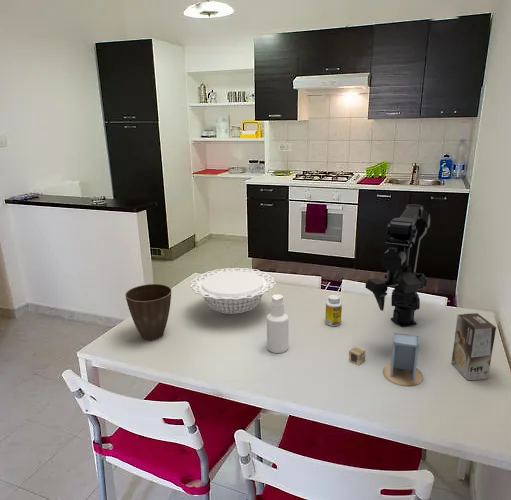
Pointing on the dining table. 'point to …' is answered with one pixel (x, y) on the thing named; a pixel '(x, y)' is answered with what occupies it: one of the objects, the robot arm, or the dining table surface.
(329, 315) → the supplement bottle
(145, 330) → the plant pot
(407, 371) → the coaster
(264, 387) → the dining table surface
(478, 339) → the coffee box
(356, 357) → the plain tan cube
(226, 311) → the white woven basket
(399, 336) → the blue-grey open box
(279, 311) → the spray bottle
